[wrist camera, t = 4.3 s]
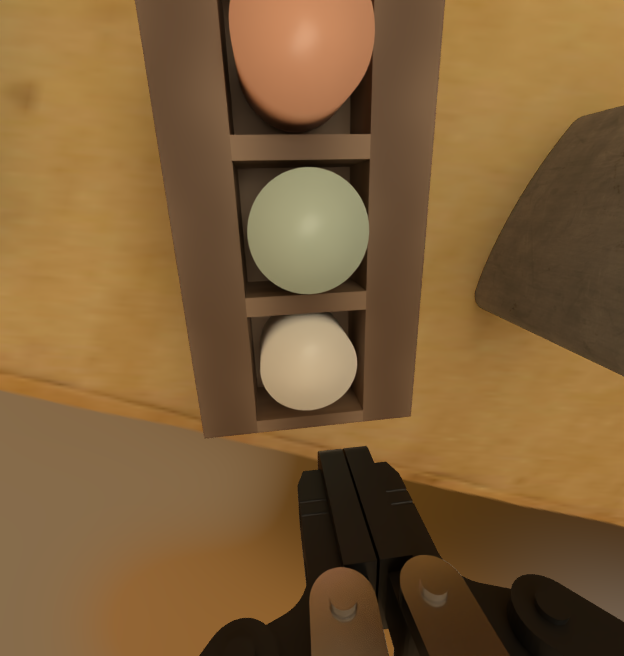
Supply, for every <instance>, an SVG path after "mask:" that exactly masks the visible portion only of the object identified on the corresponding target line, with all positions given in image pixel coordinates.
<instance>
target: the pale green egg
mask: <svg viewBox="0 0 624 656" xmlns="http://www.w3.org/2000/svg"><path fill="white" fill-rule="evenodd" d="M247 237H248V244H249V248H250V252H251V254H252V257H253V259H254V261H255V263H256V265H257V266H258V268H259V269H260V271H261V272H262V273H263V274H264V275H265V276H266V277H267V278H268V279H269V280H270V281H271V282H273V283H274V284H275V285H277V286H279V287H281V288H282V289H285V290H287V291H290V292H294V293H299V294H317V293H322V292H325V291H328V290H331V289H333V288H335V287H337V286H339V285H340V284H342V283H343V282H344V281H346V280H347V279H348V278H349V277H350V276H351V275H352V274H353V273H354V272H355V270H356V269H357V268H358V266H359V265H360V263H361V261H362V259H363V257H364V255H365V252H366V249H367V245H368V240H369V221H368V215H367V212H366V208H365V206H364V204H363V201H362V199H361V198H360V196H359V194H358V193H357V192H356V190H355V189H354V188H353V187H352V186H351V185H350V184H349V183H348V182H347V181H346V180H345V179H343V178H342V177H341V176H339V175H337V174H335V173H333V172H331V171H328V170H325V169H321V168H316V167H303V168H296V169H292V170H289V171H287V172H284V173H282V174H280V175H278V176H277V177H275V178H274V179H273V180H271V181H270V182H269V183H268V184H267V185H266V186H265V187H264V188H263V189H262V190H261V192H260V193H259V194H258V196H257V197H256V199H255V201H254V203H253V205H252V208H251V211H250V214H249V218H248V226H247Z"/></svg>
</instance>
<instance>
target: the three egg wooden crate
mask: <svg viewBox="0 0 624 656" xmlns="http://www.w3.org/2000/svg"><path fill="white" fill-rule="evenodd" d="M371 1H372V5H373V11H374V19H375V37H374V46H373V51H372V56H371V59H370V62H369V65H368V68H367V70H366V72H365V75H364V76H363V78H362V80H361V82H360V83H359V85H358V86H357V87H356V89H355V90H354V91H353V92H352V94H351V95H350V96H349V97H348V98H347V100H346V101H345V102H344V103H343V104H342V105H341V107H340V108H339V109H338V110H337V111H336V113H335V114H334V115H333V116H332V117H331V118H330V119H329V120H328V121H327V122H325V123H324V124H323V125H321V126H319V127H317V128H315V129H313V130H310V131H305V132H287V131H283V130H280V129H277V128H275V127H273V126H271V125H269V124H268V123H266V122H265V121H264V120H262V119H261V118H260V117H259V116H258V115H257V114H256V113H255V112H254V110H253V109H252V108H251V107H250V105H249V103H248V102H247V100H246V98H245V96H244V94H243V92H242V90H241V87H240V84H239V80H238V76H237V71H236V65H235V59H234V54H233V48H232V43H231V37H230V30H229V5H230V0H135V4H136V10H137V16H138V22H139V29H140V35H141V41H142V48H143V54H144V60H145V67H146V73H147V79H148V86H149V92H150V98H151V104H152V111H153V117H154V123H155V130H156V136H157V142H158V149H159V155H160V161H161V168H162V174H163V180H164V187H165V193H166V199H167V205H168V212H169V218H170V224H171V231H172V237H173V243H174V250H175V256H176V262H177V269H178V275H179V281H180V288H181V294H182V300H183V306H184V313H185V319H186V325H187V332H188V338H189V344H190V351H191V357H192V363H193V370H194V376H195V382H196V388H197V395H198V401H199V407H200V414H201V420H202V426H203V433H204V438H213V437H223V436H232V435H241V434H251V433H260V432H269V431H279V430H288V429H297V428H307V427H316V426H325V425H335V424H344V423H353V422H363V421H372V420H381V419H390V418H400V417H409V416H411V407H412V395H413V383H414V370H415V358H416V346H417V334H418V322H419V310H420V298H421V286H422V273H423V261H424V249H425V237H426V225H427V213H428V201H429V189H430V176H431V164H432V152H433V140H434V128H435V116H436V104H437V92H438V79H439V67H440V55H441V43H442V31H443V19H444V7H445V0H371ZM303 167H316V168H321V169H325V170H328V171H331V172H333V173H335V174H337V175H339V176H341V177H342V178H343V179H345V180H346V181H347V182H348V183H349V184H350V185H351V186H352V187H353V188H354V189H355V190H356V192H357V193H358V194H359V196H360V198H361V199H362V201H363V204H364V206H365V208H366V212H367V215H368V221H369V240H368V245H367V249H366V252H365V255H364V257H363V259H362V261H361V263H360V265H359V266H358V268H357V269H356V270H355V272H354V273H353V274H352V275H351V276H350V277H349V278H348V279H347V280H346V281H344V282H343V283H342V284H340V285H339V286H337V287H335V288H333V289H331V290H328V291H325V292H322V293H317V294H299V293H294V292H290V291H287V290H285V289H282V288H281V287H279V286H277V285H275V284H274V283H273V282H271V281H270V280H269V279H268V278H267V277H266V276H265V275H264V274H263V273H262V272H261V271H260V269H259V268H258V266H257V265H256V263H255V261H254V259H253V257H252V254H251V252H250V248H249V244H248V237H247V226H248V218H249V214H250V211H251V208H252V205H253V203H254V201H255V199H256V197H257V196H258V194H259V193H260V192H261V190H262V189H263V188H264V187H265V186H266V185H267V184H268V183H269V182H270V181H271V180H273V179H274V178H275V177H277V176H278V175H280V174H282V173H284V172H287V171H289V170H292V169H296V168H303ZM320 312H330V313H331V314H332V315H333V316H334V317H335V318H336V320H337V321H338V323H339V324H340V326H341V328H342V329H343V331H344V332H345V334H346V335H347V337H348V338H349V340H350V341H351V343H352V345H353V347H354V349H355V352H356V357H357V370H356V375H355V378H354V380H353V382H352V384H351V386H350V387H349V389H348V390H347V391H346V393H345V394H344V395H343V396H342V397H340V398H339V399H338V400H337V401H335V402H334V403H332V404H330V405H328V406H325V407H323V408H319V409H315V410H296V409H292V408H289V407H286V406H284V405H282V404H280V403H279V402H277V401H276V400H275V399H274V398H272V396H271V395H270V394H269V393H268V392H267V390H266V389H265V387H264V384H263V382H262V379H261V373H260V339H261V333H262V330H263V327H264V325H265V323H266V322H267V320H268V319H269V318H270V316H276V315H291V314H306V313H320Z"/></svg>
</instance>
